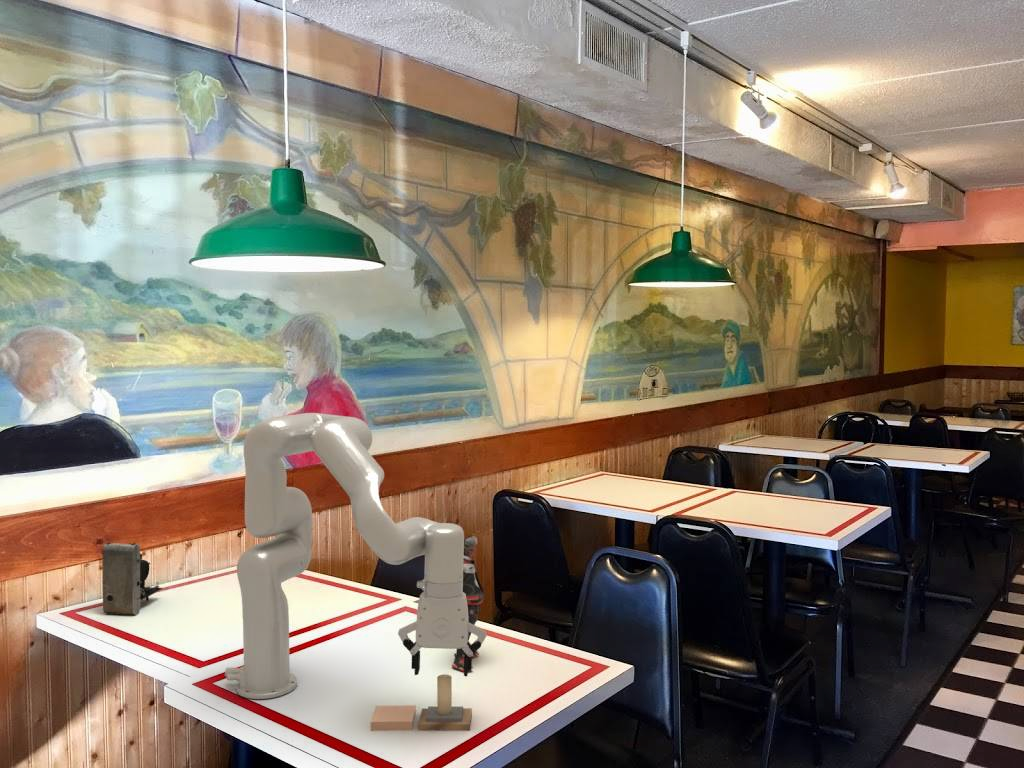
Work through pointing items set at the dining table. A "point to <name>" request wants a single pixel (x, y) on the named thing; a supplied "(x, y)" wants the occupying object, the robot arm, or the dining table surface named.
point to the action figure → (469, 595)
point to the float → (444, 703)
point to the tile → (393, 718)
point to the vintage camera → (124, 579)
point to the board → (446, 725)
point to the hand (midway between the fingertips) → (441, 672)
